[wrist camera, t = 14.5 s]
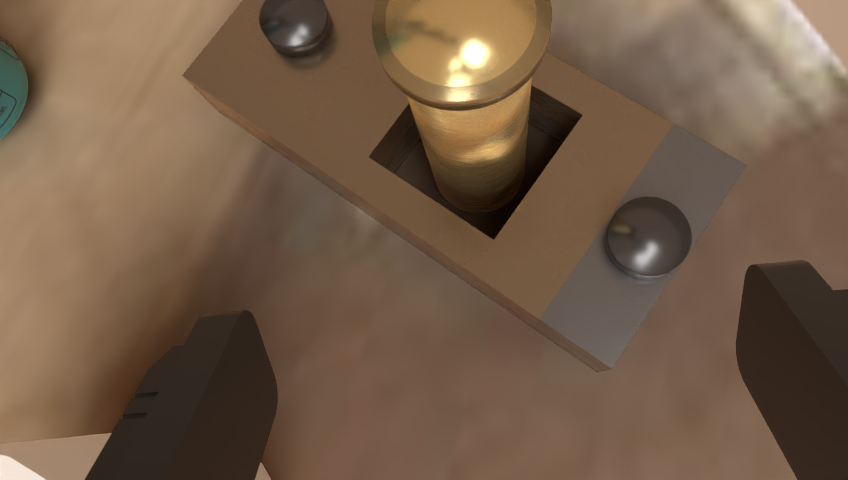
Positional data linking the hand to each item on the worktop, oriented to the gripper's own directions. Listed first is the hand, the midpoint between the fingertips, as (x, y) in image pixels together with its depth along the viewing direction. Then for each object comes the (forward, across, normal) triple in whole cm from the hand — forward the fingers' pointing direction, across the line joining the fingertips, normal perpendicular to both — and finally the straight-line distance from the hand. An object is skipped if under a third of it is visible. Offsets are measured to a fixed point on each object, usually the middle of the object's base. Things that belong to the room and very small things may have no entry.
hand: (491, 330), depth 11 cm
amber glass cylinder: (+18, 0, +5) cm, 19 cm away
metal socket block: (+18, +1, +5) cm, 19 cm away
